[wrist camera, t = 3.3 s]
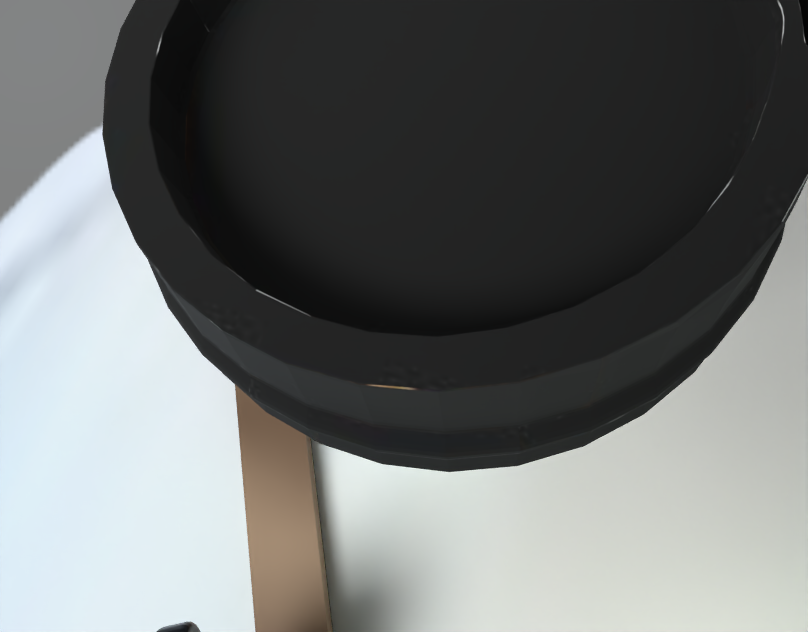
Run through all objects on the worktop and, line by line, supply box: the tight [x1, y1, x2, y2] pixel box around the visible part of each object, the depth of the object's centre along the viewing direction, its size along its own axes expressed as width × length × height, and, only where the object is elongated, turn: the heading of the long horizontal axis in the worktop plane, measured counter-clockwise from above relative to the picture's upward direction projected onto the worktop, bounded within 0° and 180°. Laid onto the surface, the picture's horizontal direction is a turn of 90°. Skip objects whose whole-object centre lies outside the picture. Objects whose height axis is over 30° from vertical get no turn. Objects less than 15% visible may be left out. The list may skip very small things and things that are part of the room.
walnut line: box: [235, 385, 333, 632], centre depth 20 cm, size 20×3×4 cm, turn 9°
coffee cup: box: [102, 0, 808, 472], centre depth 14 cm, size 8×8×15 cm
